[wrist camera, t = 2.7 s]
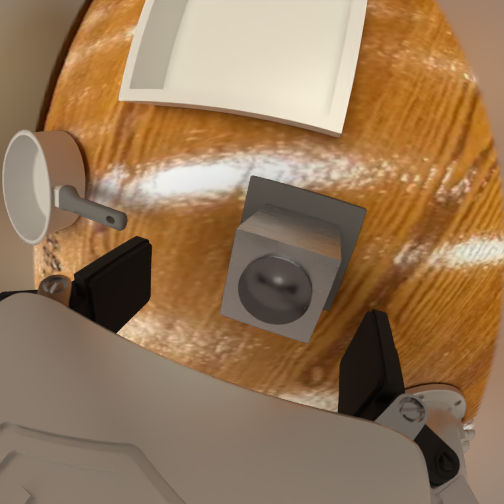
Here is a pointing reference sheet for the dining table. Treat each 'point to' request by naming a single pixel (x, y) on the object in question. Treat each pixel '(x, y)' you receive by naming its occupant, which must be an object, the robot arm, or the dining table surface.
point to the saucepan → (48, 186)
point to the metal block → (281, 271)
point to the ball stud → (314, 206)
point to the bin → (248, 58)
